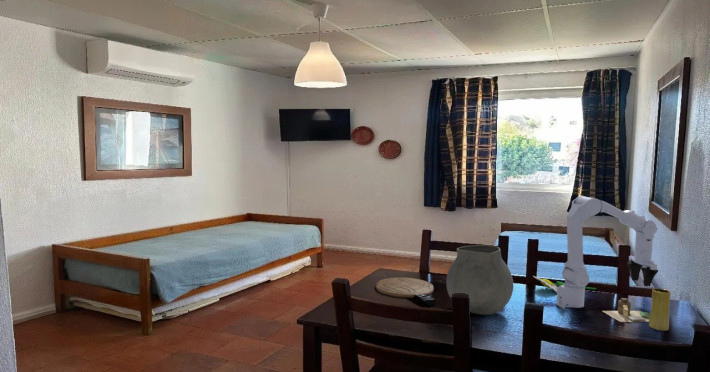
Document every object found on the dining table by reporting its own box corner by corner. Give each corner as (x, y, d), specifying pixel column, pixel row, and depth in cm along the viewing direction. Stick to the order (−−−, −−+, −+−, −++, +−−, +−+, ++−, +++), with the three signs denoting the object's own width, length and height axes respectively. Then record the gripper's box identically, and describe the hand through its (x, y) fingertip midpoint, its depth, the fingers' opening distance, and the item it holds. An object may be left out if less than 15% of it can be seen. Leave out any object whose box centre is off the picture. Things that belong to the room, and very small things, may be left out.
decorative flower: (585, 290, 216) (526, 283, 211) (587, 280, 215) (528, 272, 210) (603, 300, 204) (541, 293, 198) (606, 290, 203) (543, 282, 198)
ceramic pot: (467, 297, 195) (470, 238, 193) (523, 312, 178) (526, 247, 175) (432, 310, 178) (435, 246, 176) (490, 329, 160) (493, 257, 158)
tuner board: (620, 325, 167) (620, 319, 166) (601, 314, 178) (602, 308, 177) (662, 324, 168) (663, 319, 168) (641, 313, 179) (642, 308, 179)
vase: (644, 327, 165) (646, 287, 164) (660, 327, 166) (663, 287, 164) (656, 334, 159) (659, 293, 158) (673, 333, 159) (676, 293, 158)
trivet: (402, 278, 222) (402, 274, 222) (445, 290, 204) (445, 286, 204) (364, 288, 205) (364, 284, 205) (407, 303, 187) (407, 298, 187)
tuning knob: (617, 310, 178) (618, 296, 178) (629, 311, 176) (630, 298, 176) (619, 318, 170) (620, 304, 169) (631, 320, 168) (632, 305, 167)
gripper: (665, 253, 177) (663, 288, 178) (641, 245, 191) (639, 278, 192) (647, 253, 177) (644, 288, 178) (624, 245, 191) (622, 277, 192)
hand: (640, 283), depth 185 cm, fingers open, 7 cm apart
